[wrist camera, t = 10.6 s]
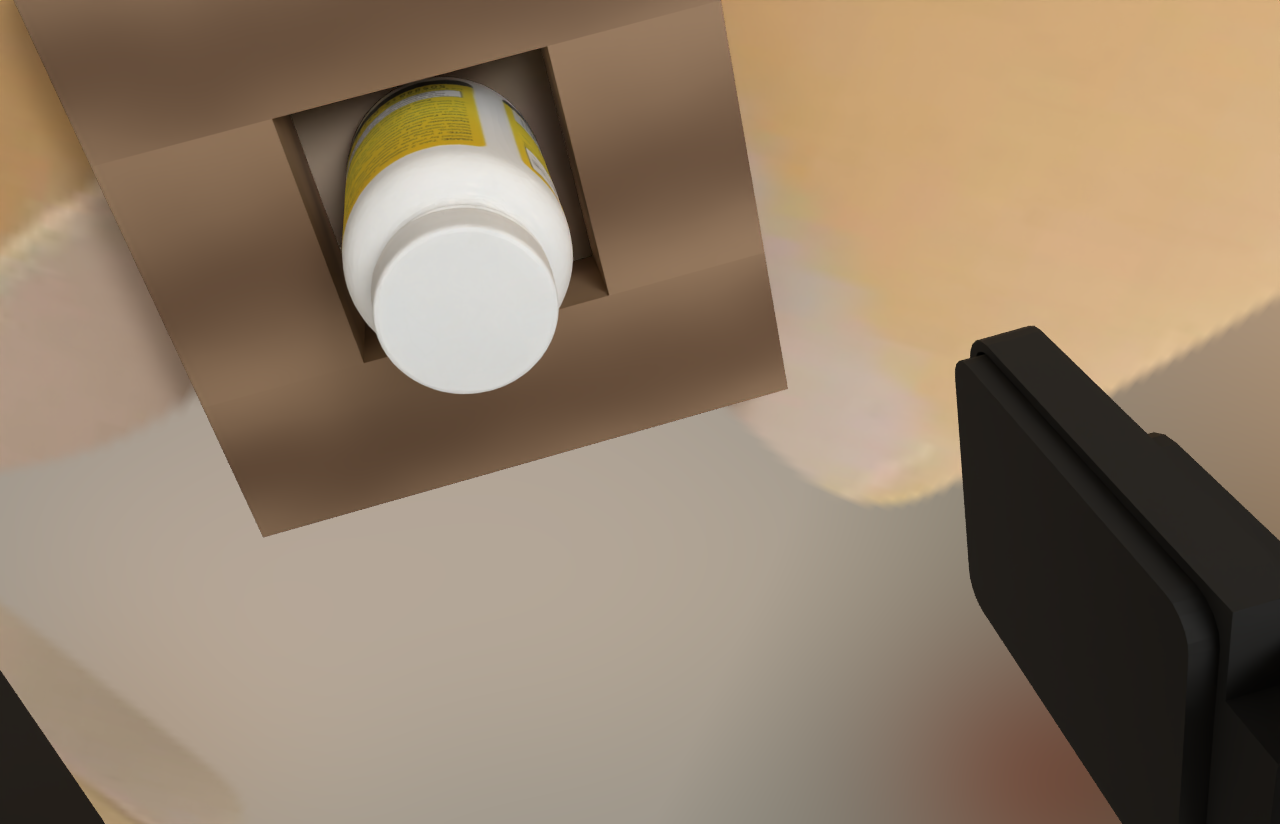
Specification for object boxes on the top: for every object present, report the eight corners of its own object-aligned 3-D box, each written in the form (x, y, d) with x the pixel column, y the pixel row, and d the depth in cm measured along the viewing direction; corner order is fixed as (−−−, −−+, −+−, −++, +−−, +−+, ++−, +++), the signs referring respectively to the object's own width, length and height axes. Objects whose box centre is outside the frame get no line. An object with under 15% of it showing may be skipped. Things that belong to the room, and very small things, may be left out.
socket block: (35, -43, 30) (3, -22, 27) (661, -202, 31) (687, -196, 28) (271, 483, 38) (263, 537, 35) (760, 345, 39) (787, 388, 36)
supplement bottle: (315, 211, 34) (294, 366, 26) (398, 36, 32) (404, 142, 24) (488, 289, 36) (520, 456, 28) (575, 129, 34) (638, 256, 26)
